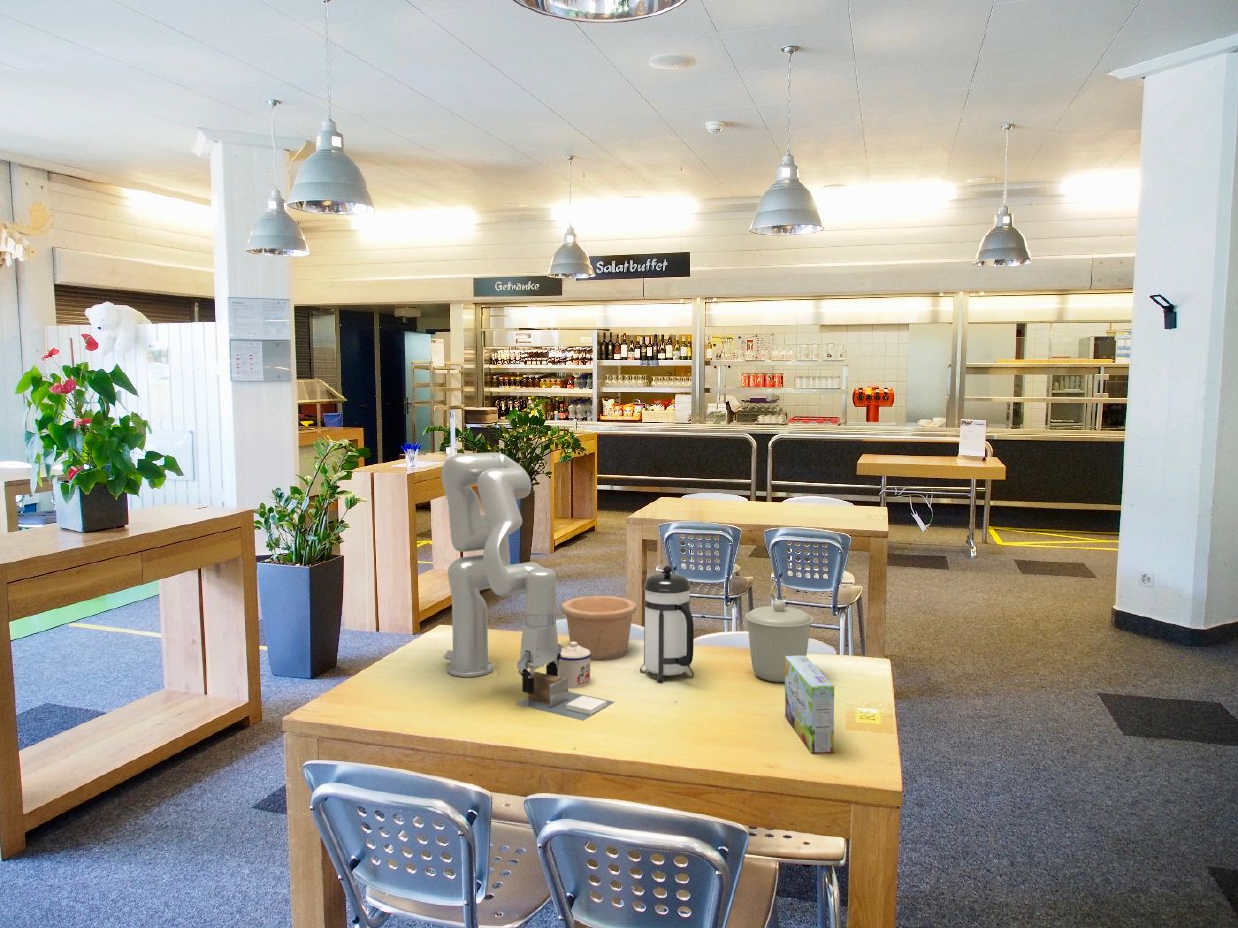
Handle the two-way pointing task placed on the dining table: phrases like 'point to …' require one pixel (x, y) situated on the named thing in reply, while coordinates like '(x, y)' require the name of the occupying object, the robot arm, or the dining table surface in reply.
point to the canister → (776, 638)
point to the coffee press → (667, 625)
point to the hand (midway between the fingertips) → (540, 686)
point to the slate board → (560, 706)
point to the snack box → (809, 704)
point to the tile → (586, 705)
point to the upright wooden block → (549, 689)
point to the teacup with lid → (575, 665)
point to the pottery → (600, 624)
